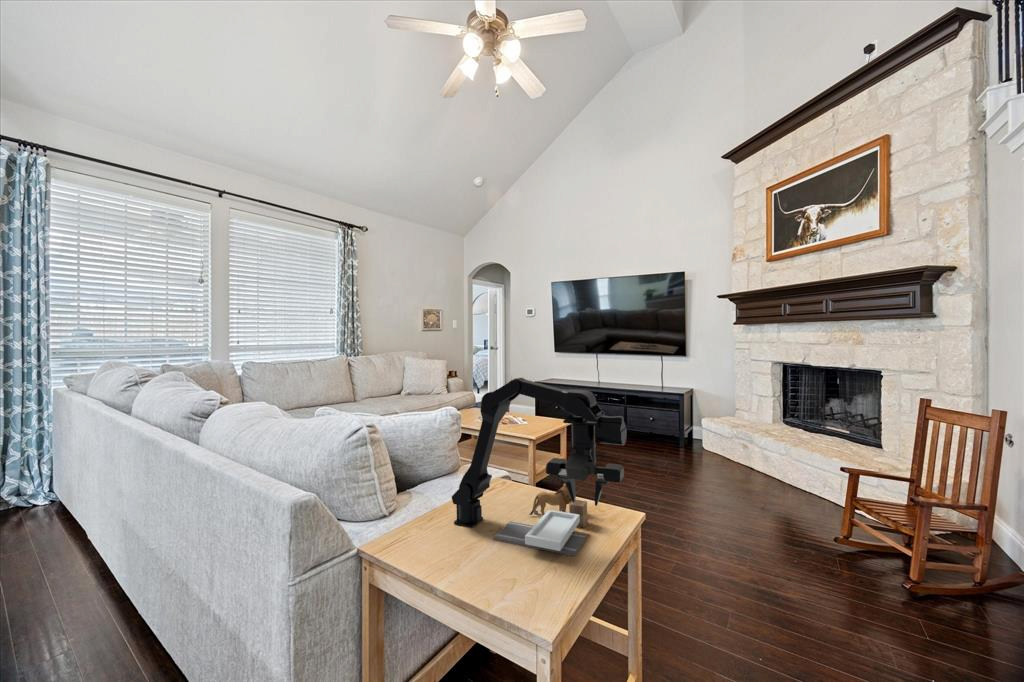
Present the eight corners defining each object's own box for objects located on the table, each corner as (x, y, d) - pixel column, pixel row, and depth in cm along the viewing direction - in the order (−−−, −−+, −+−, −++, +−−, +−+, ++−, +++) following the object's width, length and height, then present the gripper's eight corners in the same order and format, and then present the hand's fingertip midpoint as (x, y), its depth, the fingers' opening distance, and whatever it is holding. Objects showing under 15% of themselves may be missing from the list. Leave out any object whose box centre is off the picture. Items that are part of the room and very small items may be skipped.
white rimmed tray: (525, 550, 100) (524, 535, 100) (548, 522, 116) (548, 509, 116) (560, 557, 96) (559, 542, 96) (579, 527, 112) (579, 514, 112)
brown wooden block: (569, 525, 115) (569, 504, 115) (573, 520, 119) (573, 499, 119) (583, 528, 113) (583, 506, 113) (587, 522, 117) (586, 501, 117)
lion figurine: (572, 507, 127) (572, 479, 128) (579, 514, 122) (578, 484, 122) (527, 513, 124) (526, 483, 124) (531, 520, 119) (531, 489, 119)
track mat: (494, 539, 108) (493, 536, 108) (510, 524, 117) (510, 521, 117) (574, 556, 99) (574, 552, 99) (585, 538, 108) (585, 534, 108)
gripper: (537, 445, 99) (538, 510, 99) (614, 452, 91) (616, 522, 91) (552, 436, 109) (553, 494, 109) (623, 441, 102) (625, 504, 101)
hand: (585, 503), depth 103 cm, fingers open, 5 cm apart
